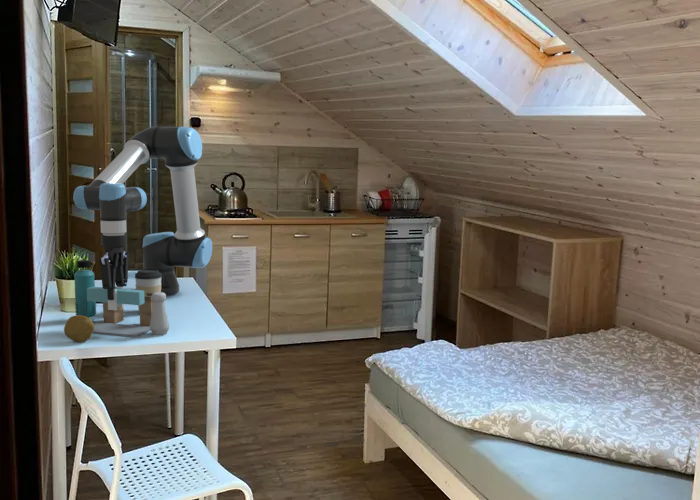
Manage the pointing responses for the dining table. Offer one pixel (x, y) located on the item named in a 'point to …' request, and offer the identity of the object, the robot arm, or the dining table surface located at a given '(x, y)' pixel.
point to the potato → (79, 328)
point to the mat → (120, 329)
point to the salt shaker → (159, 315)
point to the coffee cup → (148, 281)
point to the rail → (122, 296)
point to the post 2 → (146, 310)
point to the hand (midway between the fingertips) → (116, 308)
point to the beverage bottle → (84, 290)
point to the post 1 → (112, 314)
